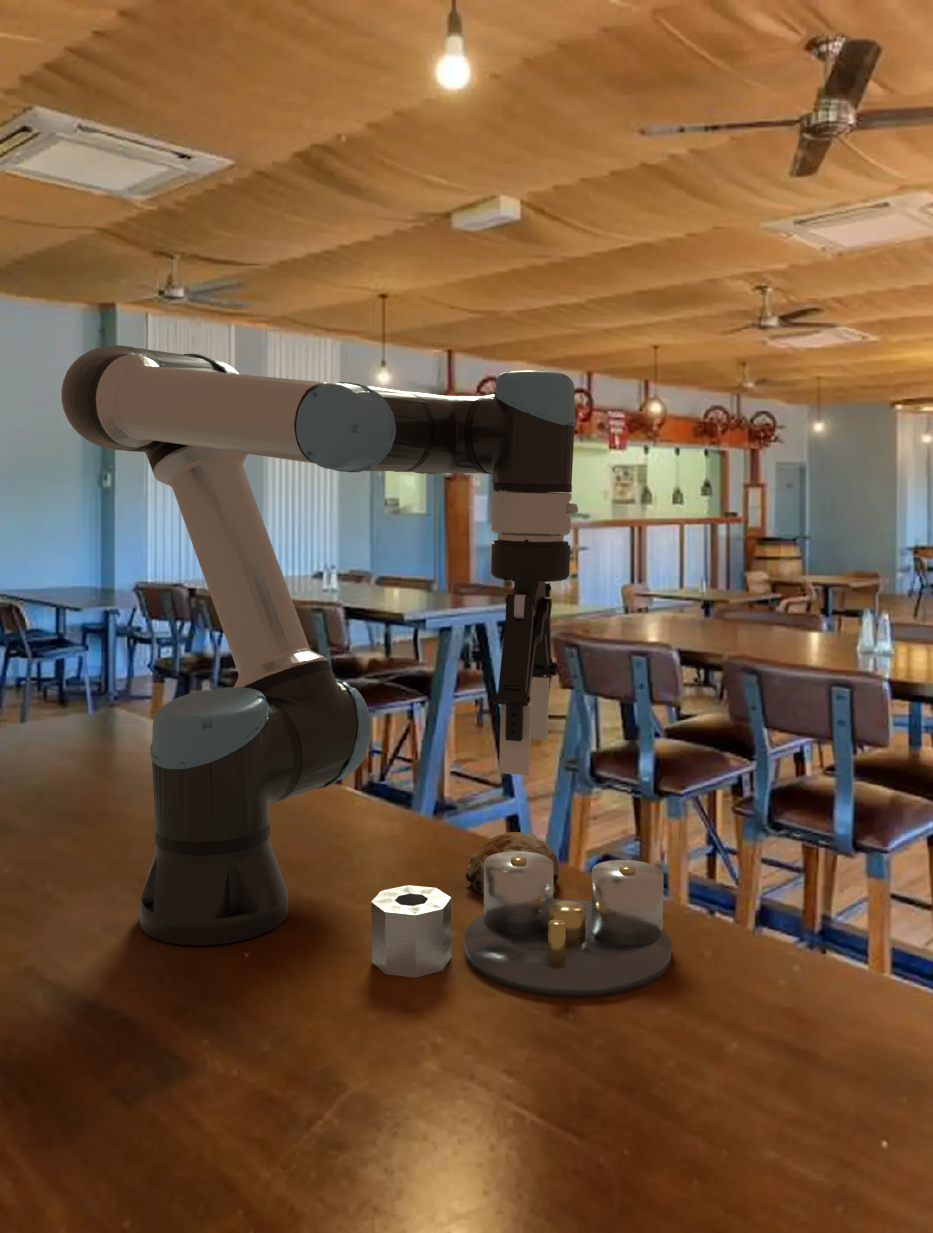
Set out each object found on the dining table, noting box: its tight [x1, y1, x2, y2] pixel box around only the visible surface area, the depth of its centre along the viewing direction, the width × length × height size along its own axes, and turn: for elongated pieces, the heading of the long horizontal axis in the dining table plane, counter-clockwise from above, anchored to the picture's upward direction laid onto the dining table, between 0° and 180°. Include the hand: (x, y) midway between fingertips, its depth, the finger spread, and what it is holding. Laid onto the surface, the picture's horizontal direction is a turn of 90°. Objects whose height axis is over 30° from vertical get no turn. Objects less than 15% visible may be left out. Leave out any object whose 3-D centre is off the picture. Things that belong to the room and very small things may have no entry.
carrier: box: [464, 851, 672, 998], centre depth 105 cm, size 20×20×8 cm
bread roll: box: [465, 831, 560, 896], centre depth 122 cm, size 10×10×8 cm
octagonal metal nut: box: [370, 884, 452, 979], centre depth 103 cm, size 7×7×6 cm
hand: (524, 755), depth 106 cm, fingers open, 13 cm apart
